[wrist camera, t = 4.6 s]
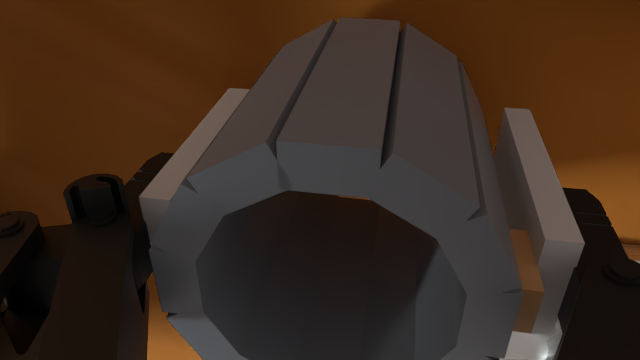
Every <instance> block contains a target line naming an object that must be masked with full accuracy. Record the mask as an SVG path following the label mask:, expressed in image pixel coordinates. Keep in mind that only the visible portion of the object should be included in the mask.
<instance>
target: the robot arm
mask: <svg viewBox="0 0 640 360" xmlns="http://www.w3.org/2000/svg"><path fill="white" fill-rule="evenodd" d="M249 90H250V89H238V88H229V89H228V90H227V91H226V92H225V93H224V95H223V96H222V97H221V98H220V99H219V101H218V102H217V103H216V104H215V106H214V107H213V108H212V109H211V110H210V112H209V113H208V114H207V115H206V116H205V118H204V119H203V120H202V121H201V122H200V124H199V125H198V126H197V127H196V128H195V130H194V131H193V132H192V133H191V134H190V136H189V137H188V138H187V139H186V140H185V142H184V143H183V144H182V145H181V146H180V148H179V149H178V150H177V151H176V152H175V154H174V153H163V152H162V153H160V154H158V155H156V156H155V157H153V158H151V159H149V160H147V161H146V163H145V164H144V165H143V166H142V167H141V168H140V169H139V172H137V173H136V174H135V175H134V176H133V177H132V178H131V180H129V181H128V183H127V184H126V185H125V186H124V184H123V180H122V179H121V178H119V177H118V176H116V175H111V174H95V175H90V176H85V177H83V178H80V179H78V180H75V181H74V182H72V183H71V184H70V185H68V186H67V187H66V189H65V190H64V192H63V194H64V197H65V200H66V203H67V207H68V210H69V213H70V216H71V219H72V224H67V225H58V226H48V227H41V226H40V223H39V220H38V218H37V215H35V214H33V213H31V212H27V211H15V212H7V213H5V214H0V360H147V341H148V314H149V290H148V286H147V279H148V278H149V276H150V275H151V273H152V271H153V268H152V263H151V259H150V254H149V249H150V248H151V246H152V244H150V241H151V239H152V237H153V235H154V233H155V231H156V230H157V228H158V226H159V224H160V222H161V220H162V218H163V216H164V214H165V212H166V210H167V208H168V206H169V204H170V203H171V201H172V199H173V197H174V195H175V193H176V191H177V189H178V187H179V185H180V183H181V182H182V181H183V179H184V178H185V177H186V175H187V174H188V173H189V171H190V170H191V169H192V167H193V166H194V165H195V163H196V162H197V160H198V159H199V158H200V156H201V155H202V154H203V152H204V151H205V150H206V148H207V147H208V146H209V144H210V143H211V142H212V140H213V139H214V138H215V136H216V135H217V133H218V132H219V131H220V129H221V128H222V127H223V125H224V124H225V123H226V121H227V120H228V119H229V117H230V116H231V115H232V113H233V112H234V110H235V109H236V108H237V106H238V105H239V104H240V102H241V101H242V100H243V98H244V97H245V96H246V94H247V93H248V92H249ZM493 159H494V163H495V168H496V172H497V177H498V181H499V186H500V190H501V194H502V199H503V203H504V208H505V212H506V217H507V221H508V226H509V229H518V230H527V233H528V237H529V240H530V244H531V248H532V251H533V255H534V259H535V262H536V266H537V268H538V269H539V273H540V277H541V280H542V284H543V288H544V291H545V293H544V296H543V299H542V302H541V305H540V308H539V311H538V314H537V317H536V320H535V324H534V327H533V330H532V334H539V335H547V336H552V335H553V332H554V329H555V326H556V323H557V321H558V319H559V323H560V326H561V330H562V333H563V334H562V337H561V339H560V342H559V345H558V348H557V350H556V353H555V356H554V358H553V360H640V263H638V262H636V261H634V260H631V259H629V258H628V256H627V254H626V252H625V250H624V248H623V246H622V244H621V242H620V240H619V238H618V236H617V234H616V232H615V230H614V228H613V227H611V225H612V224H611V222H610V220H609V218H608V217H607V216H606V212H605V210H604V208H603V206H602V204H601V202H600V201H599V200H598V199H597V198H595V197H594V196H593V195H592V194H591V193H589V192H588V191H587V190H584V189H573V188H562V187H561V184H560V182H559V179H558V177H557V174H556V172H555V170H554V167H553V165H552V162H551V160H550V157H549V155H548V152H547V150H546V148H545V145H544V143H543V140H542V138H541V135H540V133H539V131H538V128H537V126H536V123H535V121H534V118H533V116H532V113H531V111H530V109H519V108H505V107H504V111H503V116H502V120H501V125H500V130H499V135H498V139H497V144H496V149H495V154H494V158H493ZM37 358H38V359H37Z"/></svg>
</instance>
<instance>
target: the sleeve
mask: <svg viewBox="0 0 640 360" xmlns="http://www.w3.org/2000/svg"><path fill="white" fill-rule="evenodd" d="M399 31H400V20H382V19H362V18H343V17H340V18H339V20H338V22H337V24H336V22H335V21H334V19H332V20H330V21H328V22H327V23H325V24H323V25H321V26H319V27H317V28H315V29H313V30H312V31H310V32H308V33H306V34H304V35H302V36H300V37H298V38H297V39H295V40H293V41H291V42H289V43H287V44H285V45H284V46H283V47H282V49H281V50H279V51H278V52H277V54H276V55H275V56H274V58H273V59H272V61H271V62H270V63H269V65H268V66H267V67H266V69H265V70H264V71H263V73H262V74H261V75H260V77H259V78H258V79H257V81H256V82H255V83H254V85H253V86H252V88H251V89H250V90H249V92H248V93H247V94H246V96H245V97H244V98H243V100H242V101H241V102H240V104H239V105H238V106H237V108H236V109H235V110H234V112H233V113H232V115H231V116H230V117H229V119H228V120H227V121H226V123H225V124H224V125H223V127H222V128H221V129H220V131H219V132H218V133H217V135H216V136H215V138H214V139H213V140H212V142H211V143H210V144H209V146H208V147H207V148H206V150H205V151H204V152H203V154H202V155H201V156H200V158H199V159H198V160H197V162H196V163H195V165H194V166H193V167H192V169H191V170H190V171H189V173H188V174H187V175H186V177H185V178H184V179H183V181H182V182H181V183H180V185H179V187H178V189H177V191H176V193H175V195H174V197H173V199H172V201H171V203H170V204H169V206H168V208H167V210H166V212H165V214H164V216H163V218H162V220H161V222H160V224H159V226H158V228H157V230H156V231H155V233H154V235H153V237H152V239H151V241H150V244H152V246H151V248H150V249H149V254H150V259H151V263H152V268H153V272H154V277H155V281H156V286H157V290H158V295H159V299H160V304H161V308H162V312H169V313H168V315H167V317H166V319H167V320H168V321H169V322H170V323H171V324H172V326H173V327H174V328H175V329H176V330H177V331H178V332H179V333H180V334H181V336H182V337H183V338H184V339H185V340H186V341H187V342H188V343H189V344H190V346H191V347H192V348H193V349H194V350H195V351H196V352H197V353H198V355H199V356H200V357H201V358H202V359H203V360H499V358H503V359H504V358H505V355H506V352H507V348H508V345H509V341H510V338H511V335H512V331H515V332H522V333H530V334H531V333H532V330H533V327H534V324H535V320H536V317H537V314H538V311H539V308H540V305H541V302H542V299H543V296H544V293H545V291H544V288H543V284H542V280H541V277H540V273H539V269H538V268H537V266H536V262H535V259H534V255H533V251H532V248H531V244H530V240H529V237H528V233H527V230H518V229H509V226H508V221H507V217H506V212H505V208H504V203H503V199H502V194H501V190H500V186H499V181H498V177H497V172H496V168H495V163H494V159H493V154H492V150H491V145H490V141H489V137H488V132H487V128H486V123H485V119H484V114H483V110H482V108H481V105H480V103H479V101H478V99H477V96H476V94H475V92H474V89H473V87H472V85H471V83H470V80H469V78H468V76H467V73H466V71H465V69H464V67H463V64H462V62H461V60H460V61H458V62H457V55H455V54H454V53H452V52H451V51H449V50H448V49H446V48H445V47H443V46H442V45H440V44H439V43H437V42H436V41H434V40H433V39H431V38H430V37H428V36H427V35H425V34H424V33H422V32H420V31H419V30H417V29H416V28H414V27H413V26H411V25H410V24H408V23H406V25H405V26H404V28H403V29H402V30H401V32H400V33H399ZM337 195H340V196H351V197H361V198H369V199H371V200H363V199H353V198H343V197H339V196H337Z"/></svg>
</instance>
